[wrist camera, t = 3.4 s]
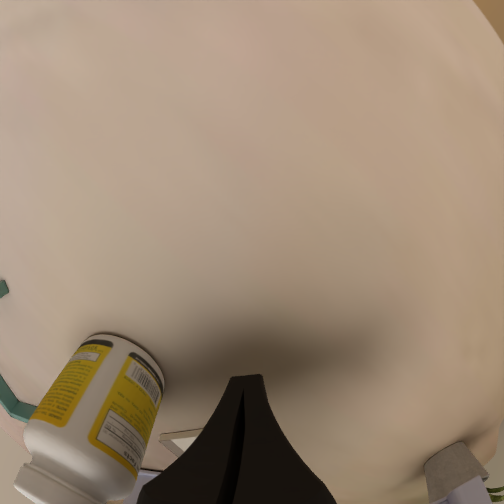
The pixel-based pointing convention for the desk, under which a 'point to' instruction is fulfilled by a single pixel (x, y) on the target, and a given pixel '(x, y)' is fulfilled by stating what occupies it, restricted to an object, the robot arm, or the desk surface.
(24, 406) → the bracket
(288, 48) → the desk surface
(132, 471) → the supplement bottle
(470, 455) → the house plant
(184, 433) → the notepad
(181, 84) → the desk surface
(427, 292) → the desk surface
